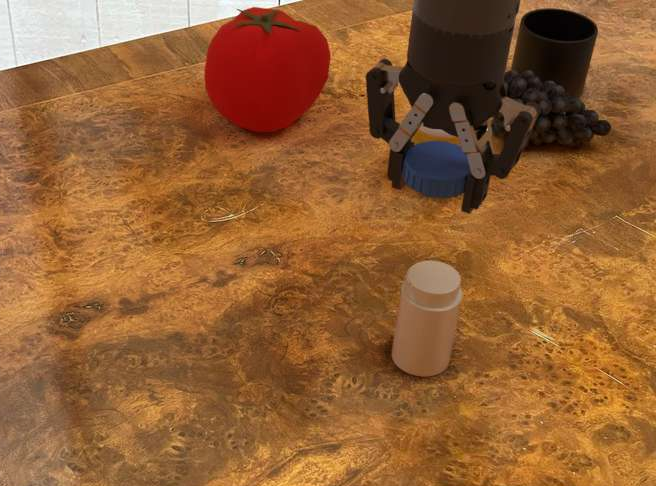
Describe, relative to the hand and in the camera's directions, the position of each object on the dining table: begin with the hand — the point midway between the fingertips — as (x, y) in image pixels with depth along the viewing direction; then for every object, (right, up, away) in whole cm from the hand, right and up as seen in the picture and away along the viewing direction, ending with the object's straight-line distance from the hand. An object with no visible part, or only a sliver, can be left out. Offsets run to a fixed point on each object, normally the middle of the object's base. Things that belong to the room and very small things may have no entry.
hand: (434, 195), depth 89 cm
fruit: (+19, +10, +39) cm, 45 cm away
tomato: (-14, +14, +42) cm, 46 cm away
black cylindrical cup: (+23, +19, +50) cm, 58 cm away
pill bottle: (+5, +5, +32) cm, 33 cm away
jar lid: (0, +2, -2) cm, 3 cm away
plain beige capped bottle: (0, -14, +10) cm, 17 cm away
